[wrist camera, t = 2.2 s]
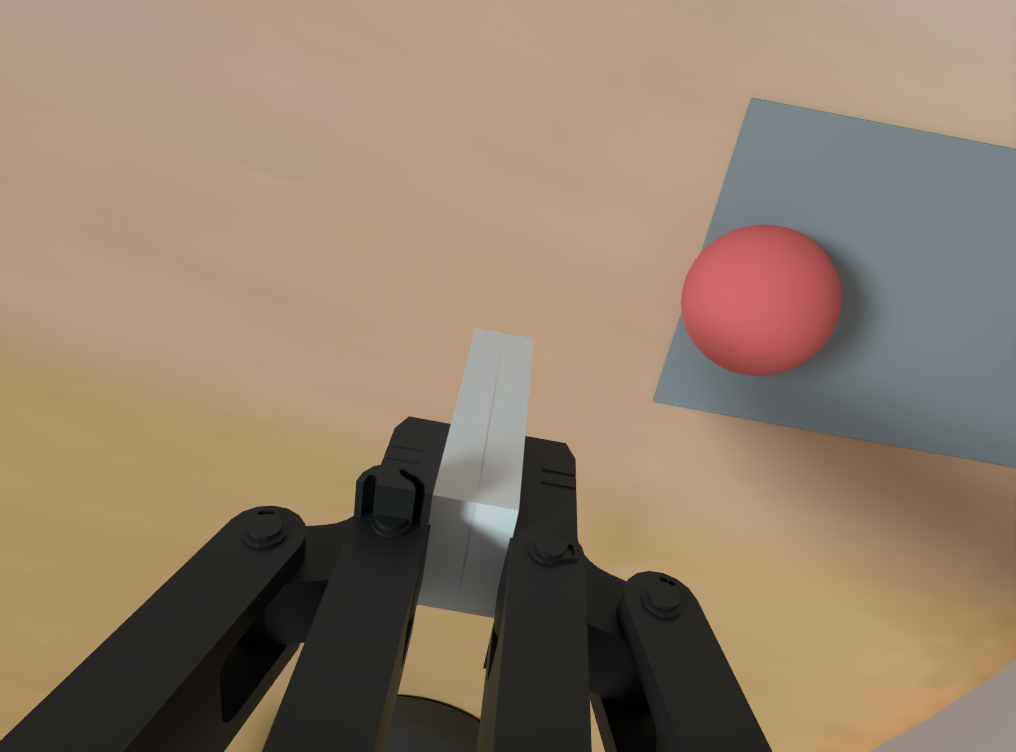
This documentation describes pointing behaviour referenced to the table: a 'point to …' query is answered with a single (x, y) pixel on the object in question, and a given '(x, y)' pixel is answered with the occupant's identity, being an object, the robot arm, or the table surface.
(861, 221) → the plate
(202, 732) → the robot arm
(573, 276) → the table surface
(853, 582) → the table surface
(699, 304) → the ball
